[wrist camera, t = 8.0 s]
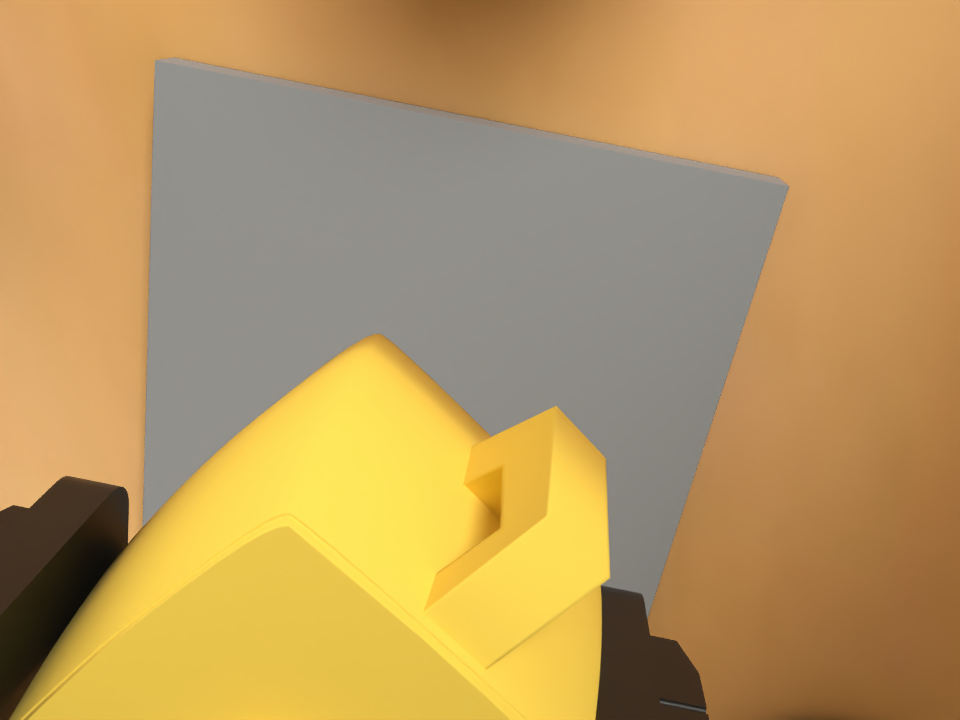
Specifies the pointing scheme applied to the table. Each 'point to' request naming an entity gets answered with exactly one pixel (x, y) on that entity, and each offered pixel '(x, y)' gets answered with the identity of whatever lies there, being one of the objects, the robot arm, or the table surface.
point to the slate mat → (443, 278)
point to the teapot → (354, 569)
